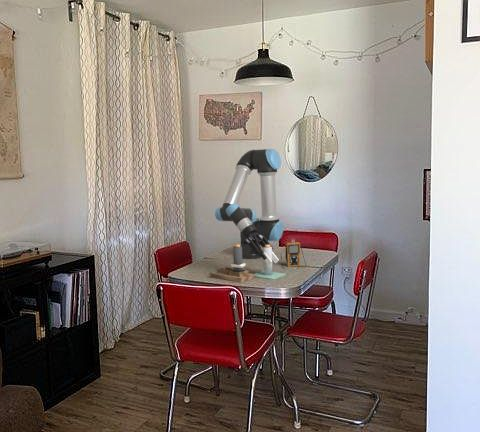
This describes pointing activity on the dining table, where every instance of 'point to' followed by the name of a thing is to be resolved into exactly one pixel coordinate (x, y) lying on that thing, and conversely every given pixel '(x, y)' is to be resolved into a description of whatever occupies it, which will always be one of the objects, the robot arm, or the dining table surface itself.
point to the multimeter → (293, 253)
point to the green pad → (273, 276)
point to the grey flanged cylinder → (237, 259)
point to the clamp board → (232, 275)
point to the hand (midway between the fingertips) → (273, 262)
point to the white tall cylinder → (268, 251)
